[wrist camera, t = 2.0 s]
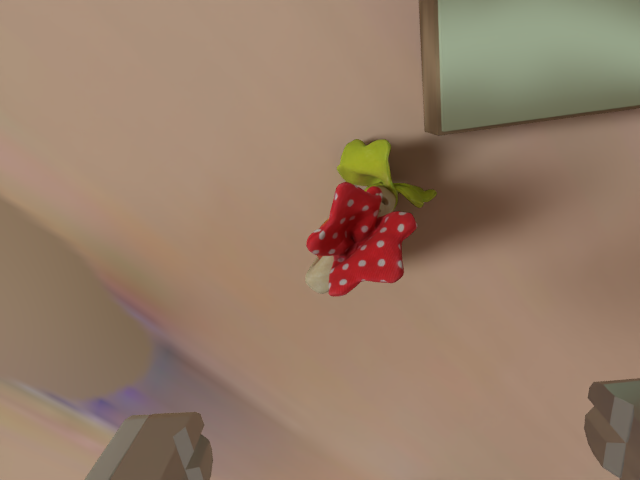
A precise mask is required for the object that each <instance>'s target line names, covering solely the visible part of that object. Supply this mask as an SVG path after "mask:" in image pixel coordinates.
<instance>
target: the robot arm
mask: <svg viewBox="0 0 640 480" xmlns="http://www.w3.org/2000/svg"><path fill="white" fill-rule="evenodd" d="M588 399H589V400H590V401H591V402H592V404H593V405H594V407H593V408H592V409H591V410H590V411H589V412H588V413H587V414H586V415H585V425H584V430H585V433H586V437H587V441H588V444H589V446H590V448H591V450H592V452H593V454H594V456H595V457H596V459H597V460H598V461H599V463H600V464H601V466H602V467H603V468H604V469H606V470H608V471H609V472H611V473H612V474H614V475H615V476H617V477H619V478H620V480H640V378H637V379H625V380H613V381H601V382H593V384H592V385H591V386H590V388H589V393H588ZM203 427H204V423H203V420H202V417H201V414H200V413H197V412H185V413H164V414H152V415H132V416H130V417H129V418H127V419H126V420H124V422H123V423H122V425H121V426H120V428H119V429H118V431H117V432H116V434H115V435H114V437H113V438H112V440H111V441H110V443H109V444H108V445H107V447H106V448H105V450H104V451H103V453H102V454H101V456H100V457H99V459H98V460H97V462H96V463H95V465H94V466H93V468H92V469H91V471H90V472H89V474H88V475H87V477H86V478H85V479H84V480H210V477H211V471H212V463H213V456H212V448H211V445H210V441H209V440H208V439H207V438H206V437H204V436H203V435H202V434H201V432H202V430H203Z"/></svg>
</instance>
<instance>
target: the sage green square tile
mask: <svg viewBox="0 0 640 480" xmlns="http://www.w3.org/2000/svg"><path fill="white" fill-rule="evenodd" d="M419 14H420V36H421V59H422V81H423V104H424V126H425V132H428V133H432V134H435V135H445V134H452V133H459V132H467V131H474V130H481V129H489V128H496V127H504V126H511V125H518V124H526V123H533V122H540V121H548V120H555V119H563V118H570V117H577V116H585V115H592V114H599V113H607V112H614V111H622V110H629V109H636V108H640V0H419Z"/></svg>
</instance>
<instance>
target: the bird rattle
mask: <svg viewBox="0 0 640 480" xmlns="http://www.w3.org/2000/svg"><path fill="white" fill-rule="evenodd" d="M390 151H391V145H390V143H389V142H388V141H387V140H376V141H374V142H372V143H370V144H369V145H365V144H364V143H363V142H362V141H361V140H359V139H356V140H353V141H352V142H350V143H348V144H347V145H346V147H345V148H344V151H343V153H342V156H341V161H340V165H339V166H338V167H337V170H338V172H339V174H340V175H341V177H342V178H343V179H344V180H345V181H346V182H344V183H341V184H339V185H338V186H337V188H336V191H335V196H334V200H333V203H332V207H331V211H330V217H329V219H328V220H326V221H325V222H324V224H323V225H322V226H321V227H320V228H319V229H317V230H315V231H314V232H313V233H312V234H311V235H310V236H309V237H308V239H307V248H308V250H309V251H310V252H312V253H313V254H315V255H317V256H318V257H317V258H316V259H315V261H314V262H313V264H312V265H311V267H310V268H309V270H308V272H307V274H306V279H305V280H306V283H307V285H308V286H309V287H310V288H311V289H312V290H314V291H315V292H318V293H320V294H324V293H326V292H328V291H329V294H330V295H331V296H343V295H345V294H347V293H348V292H350V291H351V290H352V289H353V288H355V287H356V286H357V285H358V284H359V283H360V282H362V281H373V282H384V283H394V282H396V281H397V280H399V279H400V278H401V277H402V276H403V273H404V268H403V262H402V246H401V245H402V241H403V240H404V239H405V238H407V237H408V236H409V235H411V234H412V233H413V232H414V230H415V229H416V228H417V226H418V225H417V223H416V222H415V219H414V217H413V215H412V214H411V213H407V212H400V211H396V212H393V210H394V209H395V207H396V205H397V202H398V193H401V194H402V195H403V196H404V197H405V198H406V199H407V200H409V201H410V202H411V203H412V204H413V205H414V206H416V207H418V208H421V207H422V206H423V205H424V203H423V202H429V201H430V200H432V199H433V198H434V197H435V196H436V195H437V192H436V191H435V190H433V189H430V190H426V191H424V190H423V189H422V188H420V187H417V186H413V185H410V184H406V183H393V182H392V179H391V172H390V166H389V162H388V157H389V153H390ZM356 185H361V186H368V187H367V188H366V189H365V190H362V189H361V188H359V187H357V186H356Z"/></svg>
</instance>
